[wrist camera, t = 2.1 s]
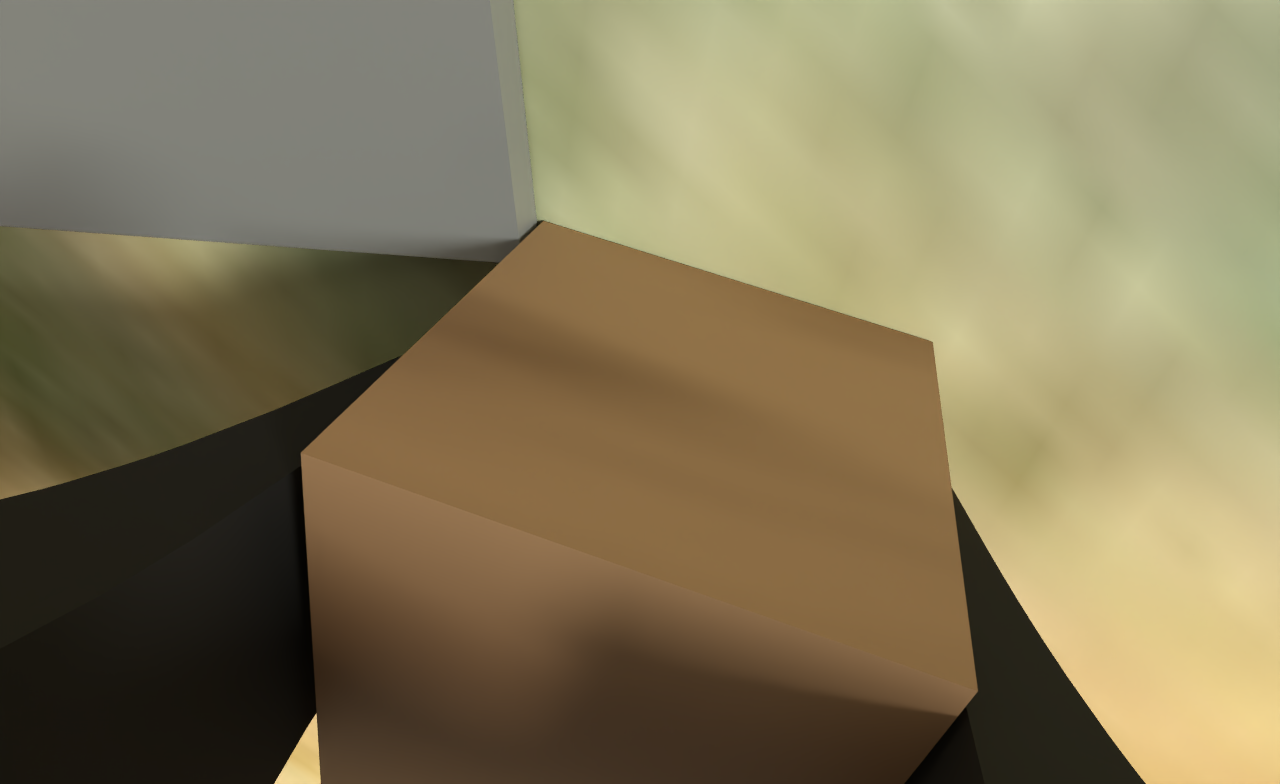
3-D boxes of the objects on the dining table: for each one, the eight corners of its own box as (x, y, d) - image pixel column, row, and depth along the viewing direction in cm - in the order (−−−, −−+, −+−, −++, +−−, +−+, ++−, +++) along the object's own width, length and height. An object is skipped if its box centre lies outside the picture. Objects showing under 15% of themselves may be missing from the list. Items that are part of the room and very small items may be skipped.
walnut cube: (797, 606, 12) (758, 965, 8) (502, 503, 13) (322, 793, 8) (932, 341, 9) (978, 691, 5) (543, 220, 10) (301, 452, 6)
